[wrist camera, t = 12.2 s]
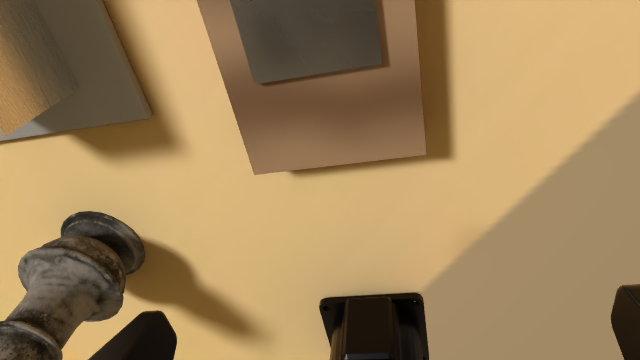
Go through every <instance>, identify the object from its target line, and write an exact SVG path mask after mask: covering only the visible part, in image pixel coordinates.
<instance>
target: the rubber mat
mask: <svg viewBox="0 0 640 360" xmlns="http://www.w3.org/2000/svg"><path fill="white" fill-rule="evenodd" d="M34 1H35V3H36V4H37V6H38V8H39V10H40V12H41V14H42V16H43V18H44V20H45V22H46V24H47V26H48V27H49V29H50V31H51V33H52V35H53V37H54V39H55V41H56V43H57V45H58V47H59V49H60V50H61V52H62V54H63V56H64V58H65V60H66V62H67V64H68V66H69V68H70V70H71V72H72V73H73V75H74V77H75V79H76V81H77V83H78V85H79V87H80V88H78V89H77V90H75V91H74V92H72V93H71V94H69V95H68V96H66V97H65V98H63V99H62V100H60V101H59V102H57V103H56V104H54V105H53V106H51V107H50V108H48V109H47V110H45V111H44V112H42V113H41V114H39V115H38V116H36V117H35V118H33V119H32V120H30V121H29V122H27V123H26V124H24V125H23V126H21V127H20V128H18V129H17V130H15V131H14V132H12V133H11V134H9V135H8V136H6V137H0V141H3V140H10V139H16V138H23V137H29V136H36V135H43V134H49V133H56V132H63V131H69V130H76V129H82V128H89V127H96V126H102V125H109V124H116V123H122V122H129V121H135V120H142V119H148V118H149V117H150V116H151V115H152V112H151V110H150V107H149V105H148V103H147V100H146V98H145V96H144V94H143V91H142V89H141V87H140V85H139V82H138V80H137V78H136V76H135V73H134V71H133V69H132V66H131V64H130V62H129V60H128V57H127V55H126V53H125V51H124V48H123V46H122V44H121V42H120V39H119V37H118V35H117V32H116V30H115V28H114V26H113V23H112V21H111V19H110V17H109V14H108V12H107V10H106V8H105V5H104V3H103V1H102V0H34Z"/></svg>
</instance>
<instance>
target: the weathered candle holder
mask: <svg viewBox="0 0 640 360" xmlns="http://www.w3.org/2000/svg"><path fill="white" fill-rule="evenodd" d="M144 257H145V252H144V247H143V244H142V243H141V241H140V239H139V237H138V236H137V235H136V234H135V233H134V231H133V230H132V229H131V228H129V227H128V226H127V225H126V224H124V223H123V222H121V221H119V220H118V219H116V218H114V217H112V216H109V215H106V214H103V213H99V212H91V211H86V212H78V213H76V214H73V215H71V216H70V217H68V218H67V219H66V220H65V221H64V222H63V225H62V227H61V238H58V239H56V240H53V241H51V242H49V243H46V244H44V245H43V246H42V247H41V248H37V249H34V250H31V251H29V252H28V253H27V254H25V255H24V256H23V257H22V258H21V260H20V263H19V265H18V272H19V278H20V280H21V282H22V285H23V287H24V288H25V289H26V290H27V293H26V295H25V297H24V299H23V300H22V301H21V302H20V304H19V305H18V306H17V307H16V308H15V309H14V310H13V312H12V313H11V314H10V315H9V316H8V317H7V319H6V320H5V321H1V322H0V360H62V359H63V358H62V351H61V350H62V348H63V347H64V345H65V344H66V342H67V341H68V339H69V338H70V336H71V335H72V334H73V332H74V331H75V329H76V328H77V327H78V326H79V325H80V324H81V323H82V322H83V321H86V322H95V321H102V320H106V319H109V318H111V317H113V316H114V315H116V314H117V313H118V311H119V310H120V308H121V307H122V304H123V293H124V288H125V280H126V275H128V274H131V273H134V272H135V271H136V270H138V269H139V268H140V266H141V265H142V263H143V262H144Z"/></svg>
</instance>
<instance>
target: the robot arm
mask: <svg viewBox="0 0 640 360" xmlns="http://www.w3.org/2000/svg"><path fill="white" fill-rule="evenodd" d="M414 301H416V302H414ZM319 309H320V313H321V316H322V319H323V323H324V326H325V330H326V333H327V336H328V340H329V343H330V347H331V354H330V360H429V351H428V342H427V333H426V322H425V313H424V303H423V297H422V296H421V295H420V294H417V293H409V294H391V295H373V296H355V297H338V298H324V299H322V300H321V301H320V306H319ZM611 323H612V328H613V331H614V333H615V336H616V339H617V341H618V344H619V346H620V349H621V352H622V355H623V357H624V360H640V284H636V285H622V286H620V287H619V288H618V290H617V293H616V296H615V301H614V305H613V309H612V313H611ZM176 345H177V337H176V333H175V331H174V330H173V328H172V326H171V324H170V323H169V321H168V319H167V318H166V316H165V314H164V313H163V312H162V311H145V312H142V313H141V314H139V315H138V316H137V317H136V318H135V319H134V320H132V321H131V322H130V323H129V324H128V325H127V326H126V327H124V328H123V329H122V330H121V331H120V332H119V333H118V334H117V335H115V336H114V337H113V338H112V339H111V340H110V341H109V342H108V343H106V344H105V345H104V346H103V347H102V348H101V349H100V350H99V351H97V352H96V353H95V354H94V355H93V356H92V357H91V358H89V359H88V360H173V359H174V354H175V350H176Z"/></svg>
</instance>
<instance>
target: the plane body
mask: <svg viewBox="0 0 640 360" xmlns="http://www.w3.org/2000/svg"><path fill="white" fill-rule="evenodd" d="M197 2H198V5H199V9H200V12H201V15H202V18H203V21H204V24H205V27H206V30H207V33H208V36H209V39H210V42H211V45H212V48H213V51H214V54H215V57H216V60H217V63H218V66H219V69H220V72H221V75H222V78H223V81H224V84H225V87H226V90H227V93H228V96H229V99H230V102H231V105H232V108H233V111H234V114H235V117H236V120H237V123H238V126H239V129H240V132H241V135H242V138H243V141H244V145H245V148H246V151H247V154H248V157H249V160H250V163H251V166H252V169H253V172H254V175H257V174H266V173H274V172H283V171H292V170H300V169H309V168H317V167H326V166H334V165H343V164H352V163H360V162H369V161H377V160H386V159H394V158H403V157H412V156H420V155H426V143H425V130H424V117H423V104H422V91H421V78H420V65H419V52H418V39H417V26H416V13H415V0H197Z"/></svg>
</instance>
